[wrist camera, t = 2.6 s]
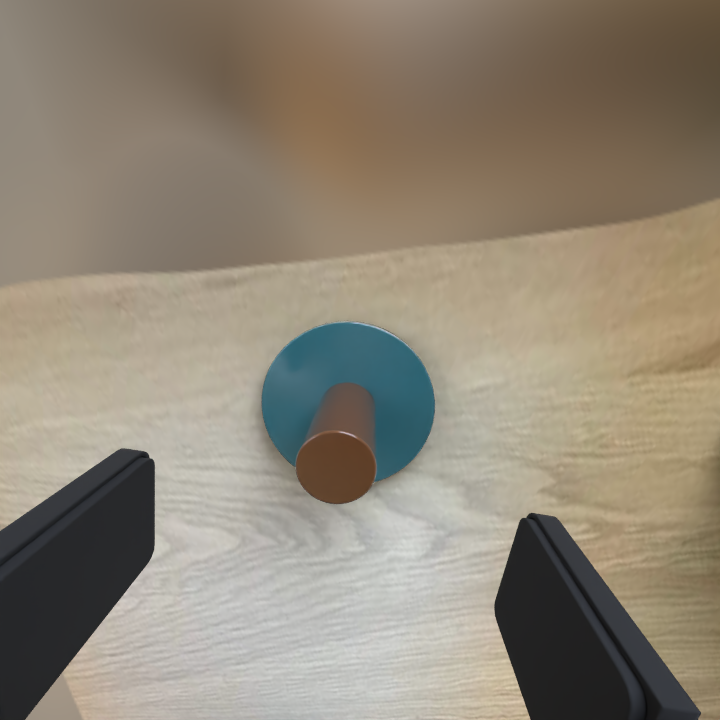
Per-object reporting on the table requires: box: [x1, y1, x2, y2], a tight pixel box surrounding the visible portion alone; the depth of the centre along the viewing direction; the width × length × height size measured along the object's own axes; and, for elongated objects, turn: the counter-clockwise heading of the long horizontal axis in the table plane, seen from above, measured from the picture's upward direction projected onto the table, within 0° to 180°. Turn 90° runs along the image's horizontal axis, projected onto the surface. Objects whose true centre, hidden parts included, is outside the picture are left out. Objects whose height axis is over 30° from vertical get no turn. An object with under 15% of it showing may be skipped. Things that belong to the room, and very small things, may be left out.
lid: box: [262, 321, 435, 504], centre depth 15 cm, size 9×9×7 cm
